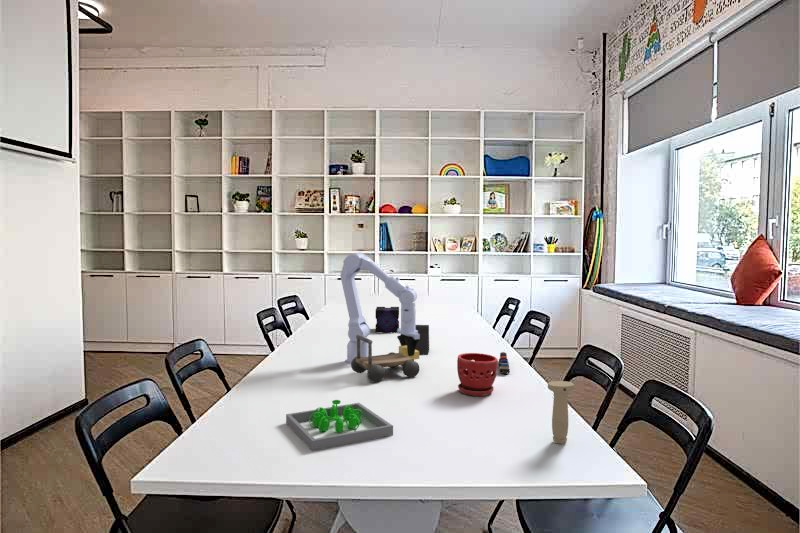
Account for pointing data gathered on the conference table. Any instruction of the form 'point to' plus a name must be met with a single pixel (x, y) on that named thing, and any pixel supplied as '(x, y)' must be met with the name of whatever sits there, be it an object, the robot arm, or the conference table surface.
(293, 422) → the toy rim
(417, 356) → the yellow step block
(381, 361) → the trolley
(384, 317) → the energy cube
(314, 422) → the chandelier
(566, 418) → the handle
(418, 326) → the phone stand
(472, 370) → the plant pot
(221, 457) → the conference table surface
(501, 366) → the toy train
